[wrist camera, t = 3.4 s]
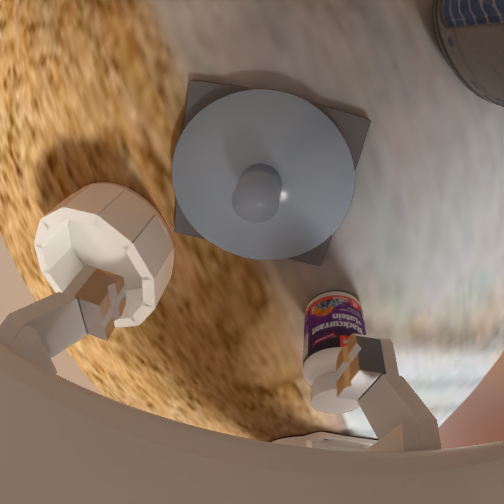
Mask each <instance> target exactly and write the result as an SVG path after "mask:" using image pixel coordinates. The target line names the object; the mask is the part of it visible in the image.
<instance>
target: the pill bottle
mask: <svg viewBox="0 0 504 504" xmlns="http://www.w3.org/2000/svg"><path fill="white" fill-rule="evenodd" d="M353 333H356V334H361V335H366V331H365V324H364V316H363V311H362V307H361V304H360V302H359V301H358V300H357V299H356V298H355V297H354V296H352V295H351V294H348V293H345V292H339V291H332V292H327V293H323V294H321V295H319V296H317V297H315V298H314V299H313V300H311V302H310V303H309V304H308V306H307V308H306V311H305V326H304V350H303V376H304V379H305V381H306V382H307V383H308V384H309V385H310V386H311V405H312V407H313V408H314V409H316V410H317V411H320V412H323V413H330V414H338V413H345V412H349V411H352V410H354V409H356V408H358V407H359V406H360V405H359V403H358V400H351V399H345V398H338V397H337V381H338V379H339V378H340V376H339V375H338V373H337V372H336V362H337V358H338V355H339V352H340V351H341V349H342V347H344V346H346V345H348V338H349V337H350V335H351V334H353Z"/></svg>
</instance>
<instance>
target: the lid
mask: <svg viewBox="0 0 504 504" xmlns="http://www.w3.org/2000/svg"><path fill="white" fill-rule="evenodd" d="M172 182H173V188H174V192H175V196H176V199H177V201H178V204H179V206H180V208H181V210H182V212H183V214H184V215H185V217H186V218H187V220H188V221H189V222H190V224H191V225H192V226H193V227H194V228H195V229H196V231H197V232H198V233H199V234H201V235H202V236H203V237H204V238H205V239H206V240H208V241H209V242H211V243H212V244H214V245H215V246H217V247H219V248H221V249H222V250H224V251H227V252H229V253H232V254H234V255H237V256H241V257H244V258H250V259H255V260H279V259H286V258H290V257H294V256H298V255H300V254H303V253H305V252H308V251H309V250H311V249H313V248H315V247H317V246H318V245H320V244H321V243H322V242H324V241H325V240H326V239H327V238H329V237H330V236H331V235H332V234H333V233H334V232H335V230H336V229H337V228H338V227H339V226H340V224H341V223H342V221H343V219H344V218H345V216H346V214H347V212H348V210H349V207H350V205H351V201H352V198H353V193H354V186H355V171H354V165H353V160H352V156H351V153H350V150H349V148H348V146H347V143H346V141H345V139H344V137H343V136H342V134H341V133H340V131H339V130H338V128H337V127H336V125H335V124H334V123H333V122H332V121H331V120H330V118H329V117H328V116H327V115H326V114H324V113H323V112H322V111H321V110H320V109H319V108H317V107H316V106H314V105H313V104H311V103H310V102H308V101H306V100H304V99H302V98H300V97H298V96H295V95H292V94H289V93H286V92H282V91H276V90H270V89H253V90H245V91H240V92H236V93H233V94H230V95H227V96H225V97H223V98H220V99H218V100H216V101H214V102H213V103H211V104H210V105H208V106H206V107H205V108H204V109H203V110H201V111H200V112H199V113H198V114H197V115H196V116H195V117H194V118H193V119H192V120H191V121H190V122H189V123H188V125H187V126H186V128H185V129H184V131H183V132H182V134H181V136H180V138H179V140H178V142H177V145H176V148H175V152H174V155H173V162H172Z"/></svg>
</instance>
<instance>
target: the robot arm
mask: <svg viewBox="0 0 504 504" xmlns="http://www.w3.org/2000/svg"><path fill="white" fill-rule="evenodd" d="M124 285H125V283H124V278H123V277H122V276H119V275H116V274H113V273H110V272H107V271H104V270H102V269H99V268H95V267H92V266H89V265H86V266H84V267H83V268H82V269H81V270H80V271H79V273H78V274H77V275H76V276H75V278H74V279H73V280H72V281H71V282H70V284H69V285H68V286H67V288H66V289H65V290H64V291H63V293H62V292H57V293H55V294H53V295H51V296H48V297H46V298H44V299H41V300H39V301H37V302H35V303H33V304H30V305H28V306H26V307H24V308H21V309H19V310H17V311H15V312H12V313H10V314H9V315H8V316H7V317H6V319H5V320H4V322H2V324H1V325H0V504H504V441H499V442H493V443H488V444H481V445H476V446H467V447H459V448H450V449H441V443H440V437H439V430H438V424H437V420H436V418H435V417H434V416H433V415H432V413H431V412H430V411H429V409H428V408H427V407H426V406H425V404H424V403H423V402H422V400H421V399H420V398H419V397H418V395H417V394H416V393H415V392H414V390H413V389H412V388H411V387H410V385H409V384H408V383H407V382H406V380H405V379H404V378H403V377H402V376H399V373H398V368H397V362H396V357H395V352H394V348H393V343H392V341H391V340H390V339H384V338H377V337H373V336H367V335H361V334H356V333H353V334H351V335H350V337H349V338H348V345H346V346H344V347H342V349H341V351H340V352H339V355H338V358H337V362H336V372H337V373H338V375H339V376H340V378H339V379H338V381H337V397H338V398H345V399H351V400H358V403H359V405H360V407H361V408H362V410H363V412H364V414H365V416H366V417H367V419H368V421H369V423H370V425H371V427H372V428H373V430H374V432H375V434H376V436H377V437H378V439H379V440H371V439H363V438H356V437H349V436H343V435H337V434H332V433H326V432H316V433H312V434H309V435H305V436H298V437H289V438H283V439H278V440H275V441H272V442H265V441H259V440H254V439H248V438H243V437H238V436H234V435H229V434H224V433H220V432H216V431H212V430H207V429H203V428H200V427H196V426H192V425H188V424H185V423H181V422H178V421H174V420H171V419H168V418H164V417H161V416H158V415H155V414H152V413H149V412H146V411H143V410H140V409H137V408H134V407H132V406H129V405H126V404H123V403H121V402H118V401H115V400H113V399H110V398H108V397H105V396H103V395H100V394H98V393H96V392H93V391H91V390H88V389H86V388H84V387H81V386H79V385H77V384H75V383H73V382H70V381H69V380H66V379H64V378H62V377H60V376H58V375H56V373H57V371H56V368H55V366H54V364H53V362H52V360H51V358H52V357H54V356H55V355H57V354H59V353H60V352H61V351H63V350H65V349H66V348H68V347H69V346H71V345H72V344H74V343H75V342H77V341H78V340H80V339H82V338H83V337H85V336H86V335H87V334H90V335H93V336H96V337H98V338H101V339H104V340H108V338H109V337H110V335H111V333H112V331H113V330H114V328H115V325H114V321H115V320H117V319H119V318H120V317H121V315H122V314H123V311H124V308H125V305H126V294H125V292H124V291H123V290H122V288H123V287H124Z"/></svg>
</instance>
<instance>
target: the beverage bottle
mask: <svg viewBox="0 0 504 504" xmlns="http://www.w3.org/2000/svg"><path fill="white" fill-rule="evenodd" d="M432 13H433V25H434V29H435V34H436V38H437V40H438V43H439V46H440V49H441V51H442V53H443V55H444V57H445V59H446V61H447V63H448V65H449V66H450V67H451V69H452V70H453V72H454V73H455V75H456V76H457V77H458V78H459V79H460V81H461V82H462V83H463V84H464V85H465V86H466V87H467V88H468V89H469V90H471V91H472V92H473V93H474V94H476V95H477V96H479V97H481V98H482V99H484V100H486V101H488V102H491V103H494V104H497V105H500V106H503V107H504V0H433V7H432Z"/></svg>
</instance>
